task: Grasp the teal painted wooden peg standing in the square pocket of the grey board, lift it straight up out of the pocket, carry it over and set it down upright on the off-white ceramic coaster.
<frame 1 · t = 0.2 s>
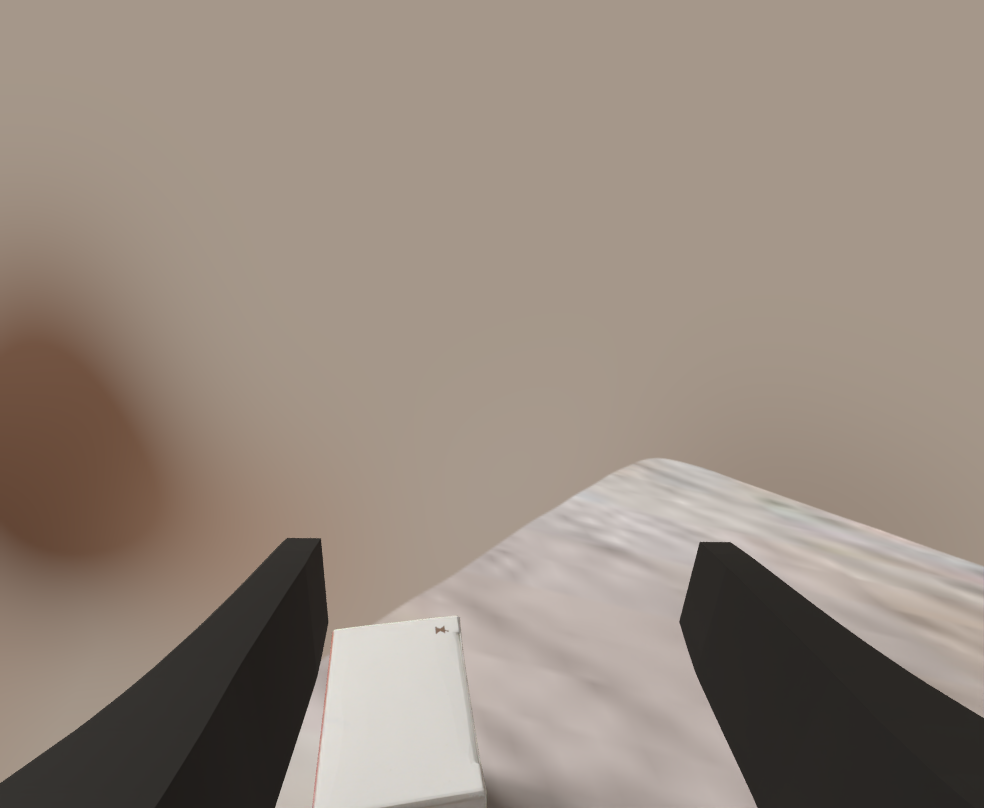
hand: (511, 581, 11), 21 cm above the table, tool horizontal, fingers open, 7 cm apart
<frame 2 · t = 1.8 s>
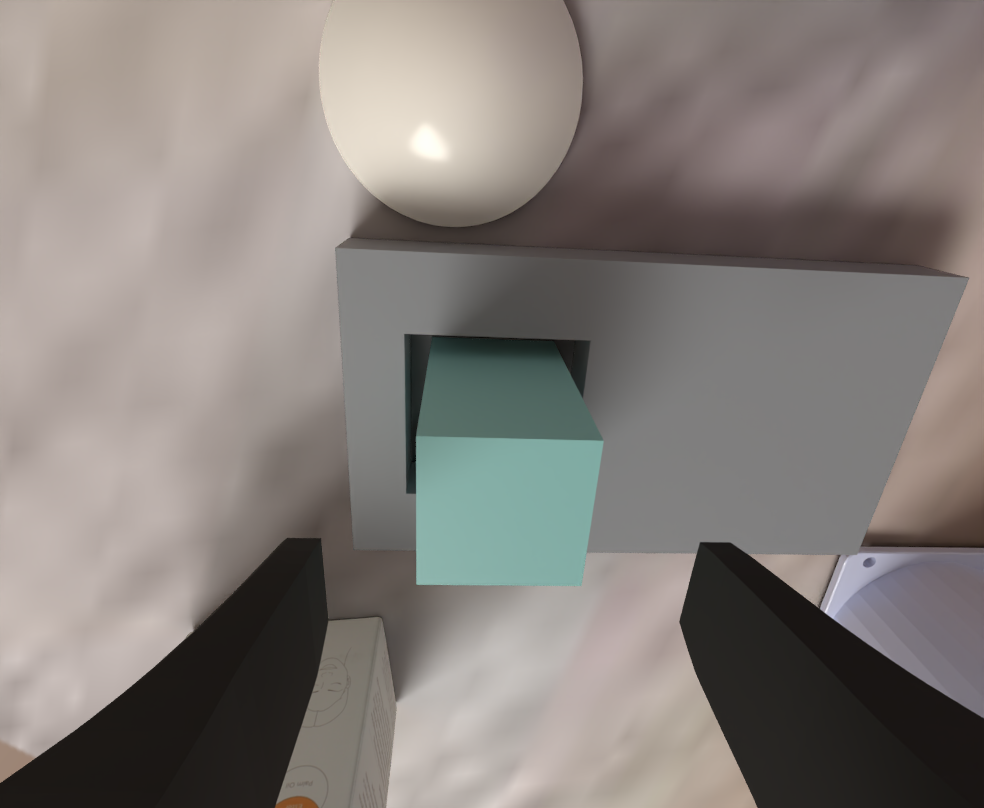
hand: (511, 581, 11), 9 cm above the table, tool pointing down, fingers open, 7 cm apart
pocket board: (619, 399, 19), on the table
small box: (301, 664, 24), on the table
coaster: (452, 91, 15), on the table
peg: (490, 395, 19), resting in pocket board
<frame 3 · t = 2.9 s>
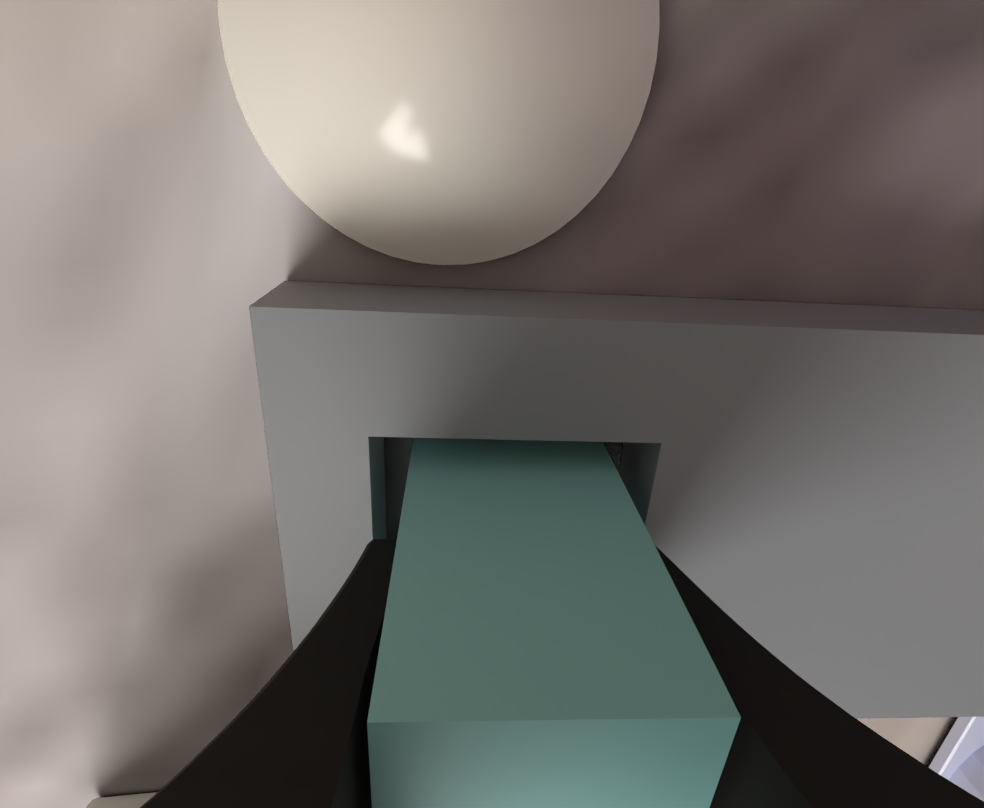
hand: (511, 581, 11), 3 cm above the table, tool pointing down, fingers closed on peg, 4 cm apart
pocket board: (686, 503, 13), on the table
coaster: (444, 48, 9), on the table
peg: (501, 500, 13), resting in pocket board, touching gripper
when the fingers open (4 cm above the table, at t = 6.4 s): peg drops 1 cm, resting on coaster.
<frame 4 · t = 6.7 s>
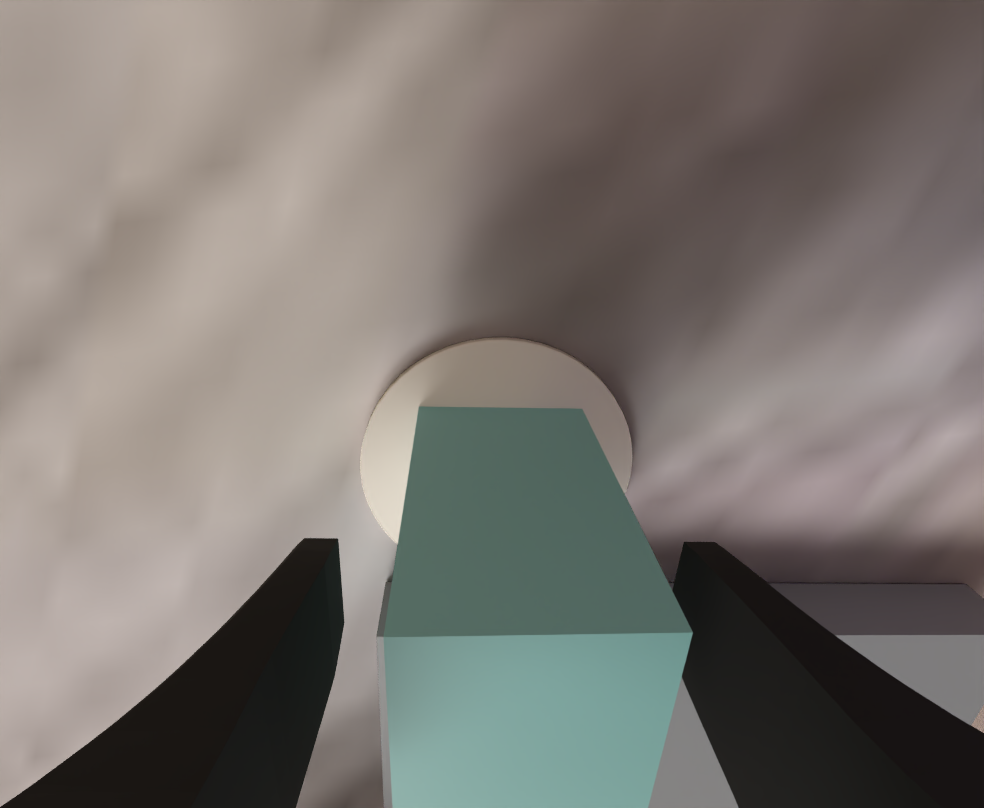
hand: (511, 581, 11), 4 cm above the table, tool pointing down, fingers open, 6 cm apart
pocket board: (658, 697, 19), on the table
coaster: (496, 464, 15), on the table
peg: (497, 477, 14), resting on coaster
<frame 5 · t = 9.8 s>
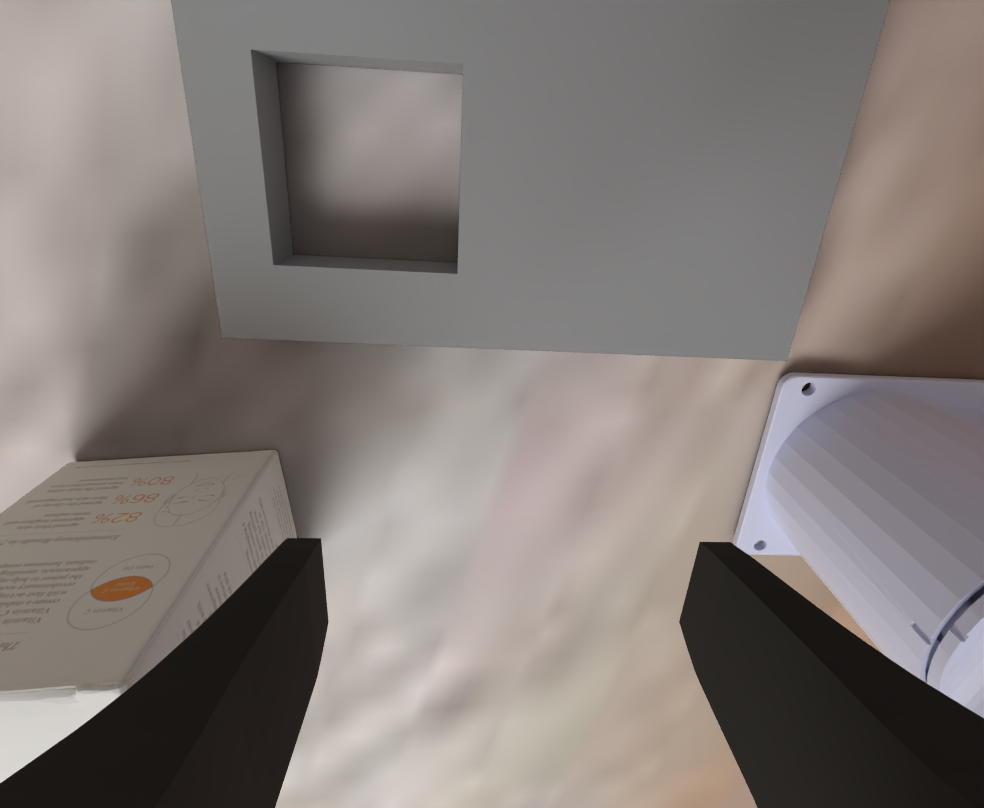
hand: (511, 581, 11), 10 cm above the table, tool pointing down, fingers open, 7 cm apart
pocket board: (518, 177, 17), on the table
small box: (197, 509, 22), on the table
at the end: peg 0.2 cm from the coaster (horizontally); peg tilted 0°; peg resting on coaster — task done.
